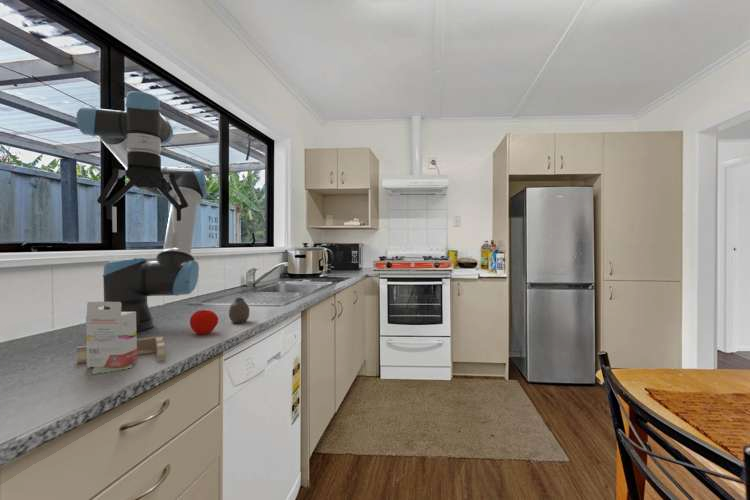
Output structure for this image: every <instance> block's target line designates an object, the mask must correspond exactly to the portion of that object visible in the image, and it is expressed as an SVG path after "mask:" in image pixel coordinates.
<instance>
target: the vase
mask: <svg viewBox="0 0 750 500" xmlns="http://www.w3.org/2000/svg"><path fill="white" fill-rule="evenodd" d="M228 317H229V320H230V321H231V322H232V323H233V324H244V323H246V322H247V321H248V320H249V317H250V307H249V305H248V303H247V302H246V301H245V300H244V298H243V297H235V299H234V300H233V302H232V303H231V305H230V307H229V310H228Z"/></svg>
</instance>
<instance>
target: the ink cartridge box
mask: <svg viewBox="0 0 750 500" xmlns="http://www.w3.org/2000/svg"><path fill="white" fill-rule="evenodd" d="M104 306H106V307H110V309H109V310H103V309H99V308H104ZM121 306H122V303H121V302H104V301H88V302H87V304H86V315H85V329H86V331H85V332H86V335H85V336H86V338H85V339H86V345H85V346H86V348H87V362H86V367H87V368H94V367H123V366H126V365H128V364H130V363H132V364H133V363H134V362H136V361H138V355H137V339H138V335H137V332H138V331H137V332H136V312H121Z"/></svg>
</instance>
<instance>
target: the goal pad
mask: <svg viewBox="0 0 750 500" xmlns="http://www.w3.org/2000/svg"><path fill="white" fill-rule="evenodd" d="M128 368H130V369H132V368H133V362H132V363H130V364H128V365H126V366H123V367H93V369H92V373H91V375H92V374H94V375H99V374H98V373H100V374H105V372H106V373H111V371H112V372H117V370H118V371H123V369H124V370H129V369H128Z"/></svg>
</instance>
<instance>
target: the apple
mask: <svg viewBox="0 0 750 500" xmlns="http://www.w3.org/2000/svg"><path fill="white" fill-rule="evenodd" d="M218 323H219V317H218V315H217V314H216V313H215V311H213V310H208V309H207V310H204V309H203V310H202V309H201V310H197V311H195V312H194V313H193V314H192V315H191V317H190V319H189V327H190V328H191V329H192V331H193V332H194V333H195V334H196V335H209V334H210V333H211V332H212V331H213V330H214V329H215V328H216V327H217V326H218Z"/></svg>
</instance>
